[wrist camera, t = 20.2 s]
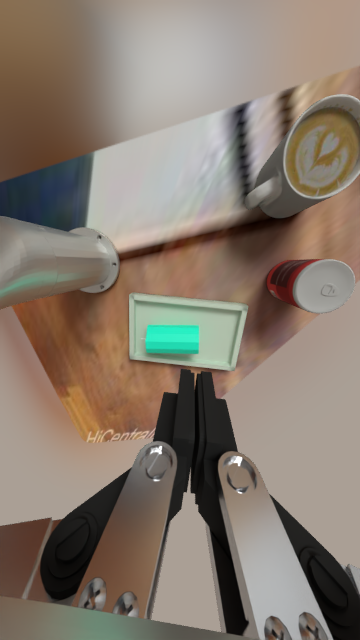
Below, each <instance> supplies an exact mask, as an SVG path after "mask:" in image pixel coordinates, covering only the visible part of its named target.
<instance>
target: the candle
mask: <svg viewBox="0 0 360 640" xmlns="http://www.w3.org/2000/svg"><path fill="white" fill-rule="evenodd" d="M141 339H145V338H141ZM145 345H146V352H147V353H172V354H199V325H148V326H147V333H146V340H145Z"/></svg>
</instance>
